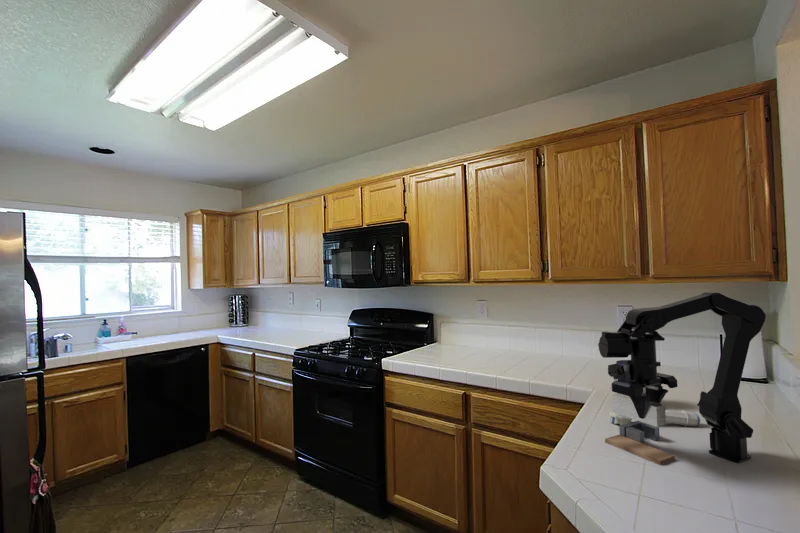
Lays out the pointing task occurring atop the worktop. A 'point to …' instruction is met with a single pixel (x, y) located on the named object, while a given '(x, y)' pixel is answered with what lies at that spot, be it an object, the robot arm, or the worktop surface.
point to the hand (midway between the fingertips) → (646, 417)
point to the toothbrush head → (670, 417)
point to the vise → (639, 431)
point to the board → (640, 449)
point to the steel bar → (627, 409)
